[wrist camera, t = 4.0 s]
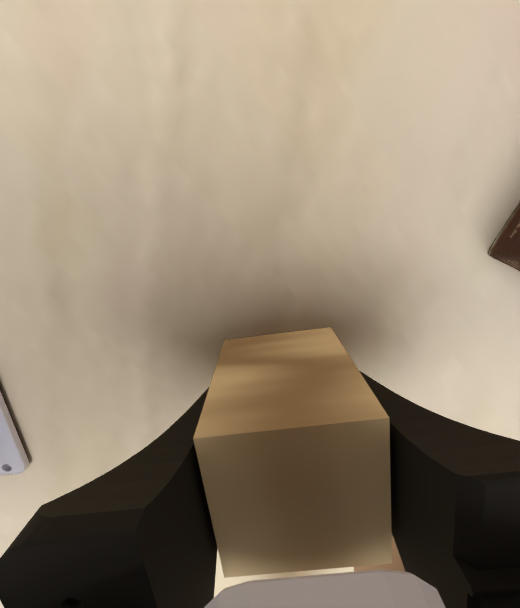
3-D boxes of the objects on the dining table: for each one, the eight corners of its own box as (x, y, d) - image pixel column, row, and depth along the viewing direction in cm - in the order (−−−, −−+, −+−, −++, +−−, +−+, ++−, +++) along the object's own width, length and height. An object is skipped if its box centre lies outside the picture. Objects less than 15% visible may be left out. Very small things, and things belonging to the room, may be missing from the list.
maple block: (239, 429, 14) (224, 577, 8) (224, 339, 13) (193, 438, 7) (337, 419, 14) (391, 563, 8) (330, 327, 13) (389, 417, 7)
